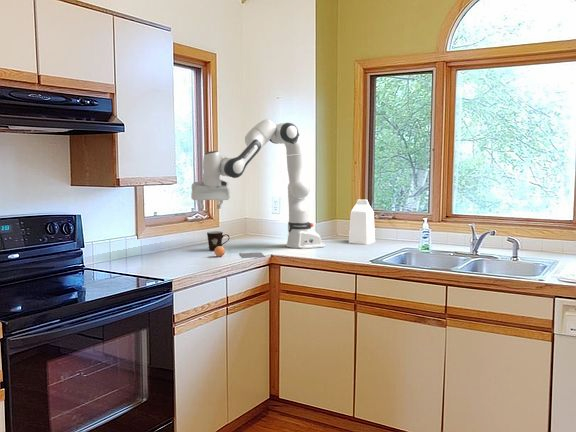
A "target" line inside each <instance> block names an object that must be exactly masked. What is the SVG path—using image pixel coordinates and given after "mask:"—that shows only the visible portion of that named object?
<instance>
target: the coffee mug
mask: <svg viewBox="0 0 576 432" xmlns="http://www.w3.org/2000/svg"><path fill="white" fill-rule="evenodd" d="M206 236H207V243H208V248H209V249H208V250H209V251H210V252H214V250H215V248H216V247H218V246H222V247H223V245H225V244H226V243H228V241H229V240H230V235H229V234H224V233H223V231H220V230H219V231H217V230H215V231H214V230H213V231H207V232H206ZM225 236H227V237H228V238H227V240H226V241H224V242H223V239H224V237H225Z"/></svg>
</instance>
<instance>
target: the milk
mask: <svg viewBox="0 0 576 432" xmlns="http://www.w3.org/2000/svg"><path fill="white" fill-rule="evenodd" d="M348 231H349V233H348V243H349V244H355V245H371V244H374V243H376V229H375V212H374V209H373V208H372V206H371V205H370V203H369V201H368V199H357V201H356V203H355V205H354V206H353V208H352V209H351V211H350V217H349V230H348Z"/></svg>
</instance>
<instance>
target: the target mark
mask: <svg viewBox="0 0 576 432" xmlns="http://www.w3.org/2000/svg"><path fill="white" fill-rule="evenodd" d="M240 255H241V256H240ZM239 256H240V257H241V258H243V259H244V258H246V259H247V258H249V259H250V258H264V257H266V255H265V254H263V253H262V252H244V253H243V252H242V253H241V252H240V253H239Z"/></svg>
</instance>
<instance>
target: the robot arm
mask: <svg viewBox="0 0 576 432" xmlns="http://www.w3.org/2000/svg"><path fill="white" fill-rule="evenodd" d="M244 142H245V145H246V147H245V148H244V149H243V150H242V152H241V153H240V154H238V156H236V157H233V158H232V157H231V158H230V157H227V156H225V155H223V154H221V153H220V151H218V150H212V151H207V152H205V153H204V155H203V160H202V169H203V170H202V171H203V173H202V181H198V182H197V181H195V182H193V183H192V184H191V196H190V198H191V199H192V200H193V201H197V203H198V204H199V209H200V210H204V208H205V207H204V205H203V204H202V202H203V201H218V202H219V203H218V204H217V205H216V209H221V208H222V205H223V202H224V201H228V200H229V199H230V197H231V196H230V194H231V193H230V188H229V182H228V181H225V180H223V179H220V178H221V177H220V176H223V177H230V178H233V179H238V178H240V177H241V176H243V173H244V172H245V171H246V168H247V166H248V164H249V163H251V161H252V160H253V159H254V157H255V156H256V155H258V153H259V152H260V150H261V149H263V148H264V146H265V145H266V144H267V143H268V142H271V143H272V144H275V145H278V144H284V146H285V150H286V163H287V164H286V165H287V174H288V180H289V181H288V182H289V183H288V184H287V200H288V201H287V202H288V221H287V232H288V234H287V241H286V245H285V246H286V247H287V248H290V249H291V248H293V249H301V250H302V249H315V248H316V249H317V248H325V247H326V244H325V243H324V242H322V237H321V235H320V234H319V233H318V232H316V231H315V230H314V229H313V227H314V226H315V224H314V222H313V223H312V222H309V207H308V206H309V205H308V195H309V193H310V181H309V179H310V178H309V175H308V172H309V171H308V166H307V164H308V163H307V151H306V146H305V141H304V138H303V136H301V135H300V133H299V129H298V127H297V126H296V124H294V123H293V122H292V123H291V122H283V123H278V124H275V123H274V122H273V121H272V120H271V119H267V118H265V119H263V120H261V121H260V122H259V123H257V124H256V125H254V126H253V127H252V128H251V129H250V130H249V131H248V132H247V133H246V135H245V137H244Z"/></svg>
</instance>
